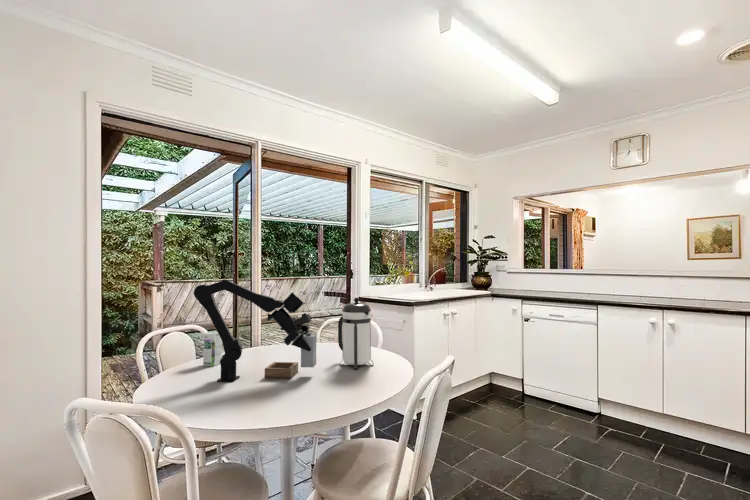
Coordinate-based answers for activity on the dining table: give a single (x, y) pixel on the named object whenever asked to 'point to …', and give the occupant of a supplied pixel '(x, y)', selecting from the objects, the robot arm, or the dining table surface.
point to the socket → (281, 370)
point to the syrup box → (212, 349)
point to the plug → (309, 356)
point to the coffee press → (355, 334)
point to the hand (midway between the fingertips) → (312, 349)
